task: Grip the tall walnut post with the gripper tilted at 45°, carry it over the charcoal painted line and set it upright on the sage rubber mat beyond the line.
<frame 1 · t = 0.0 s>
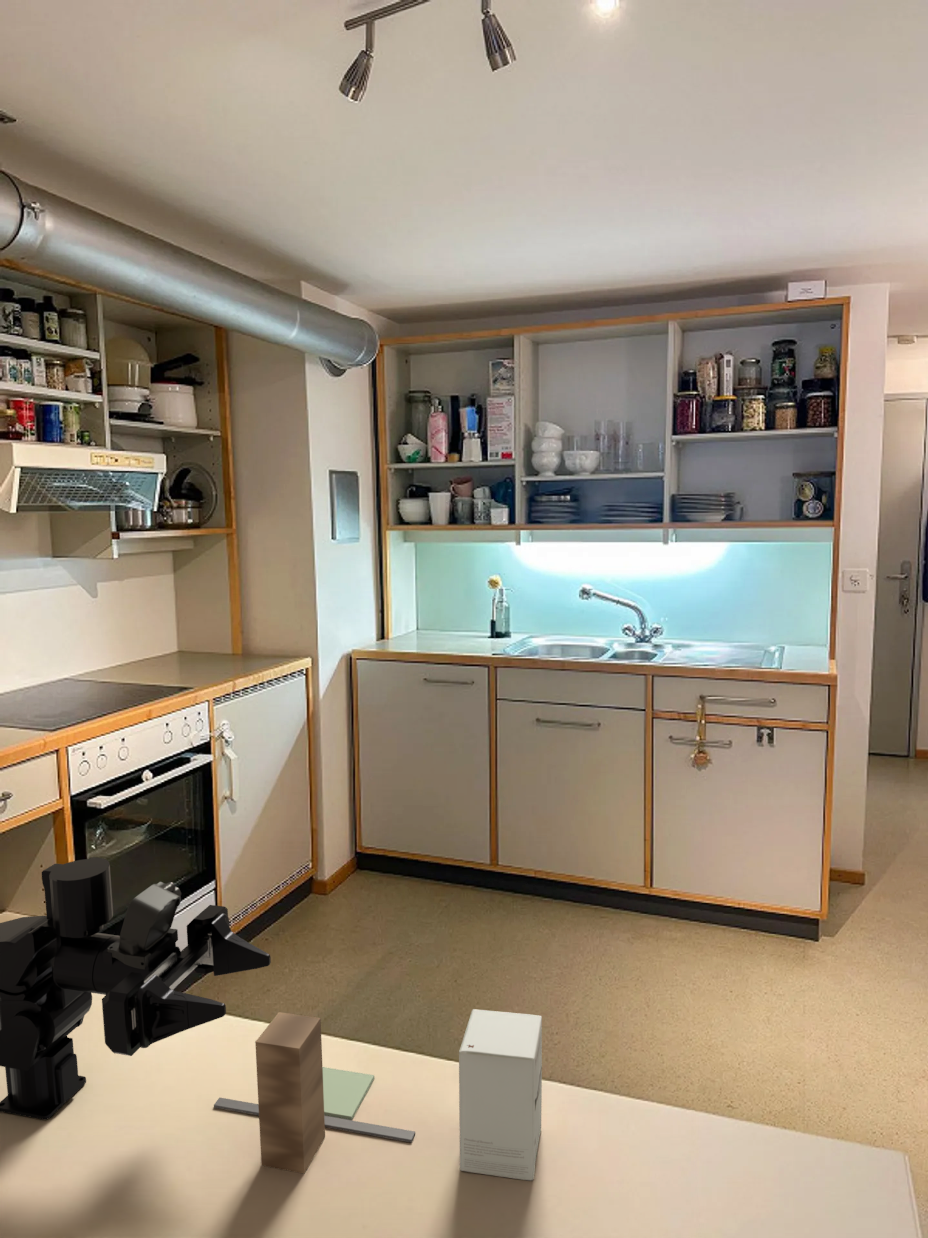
hand: (248, 984, 88), 17 cm above the table, tool horizontal, fingers open, 9 cm apart
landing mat: (320, 1091, 97), on the table
supplement box: (502, 1151, 88), on the table
walnut post: (293, 1151, 88), on the table
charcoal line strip: (312, 1120, 92), on the table
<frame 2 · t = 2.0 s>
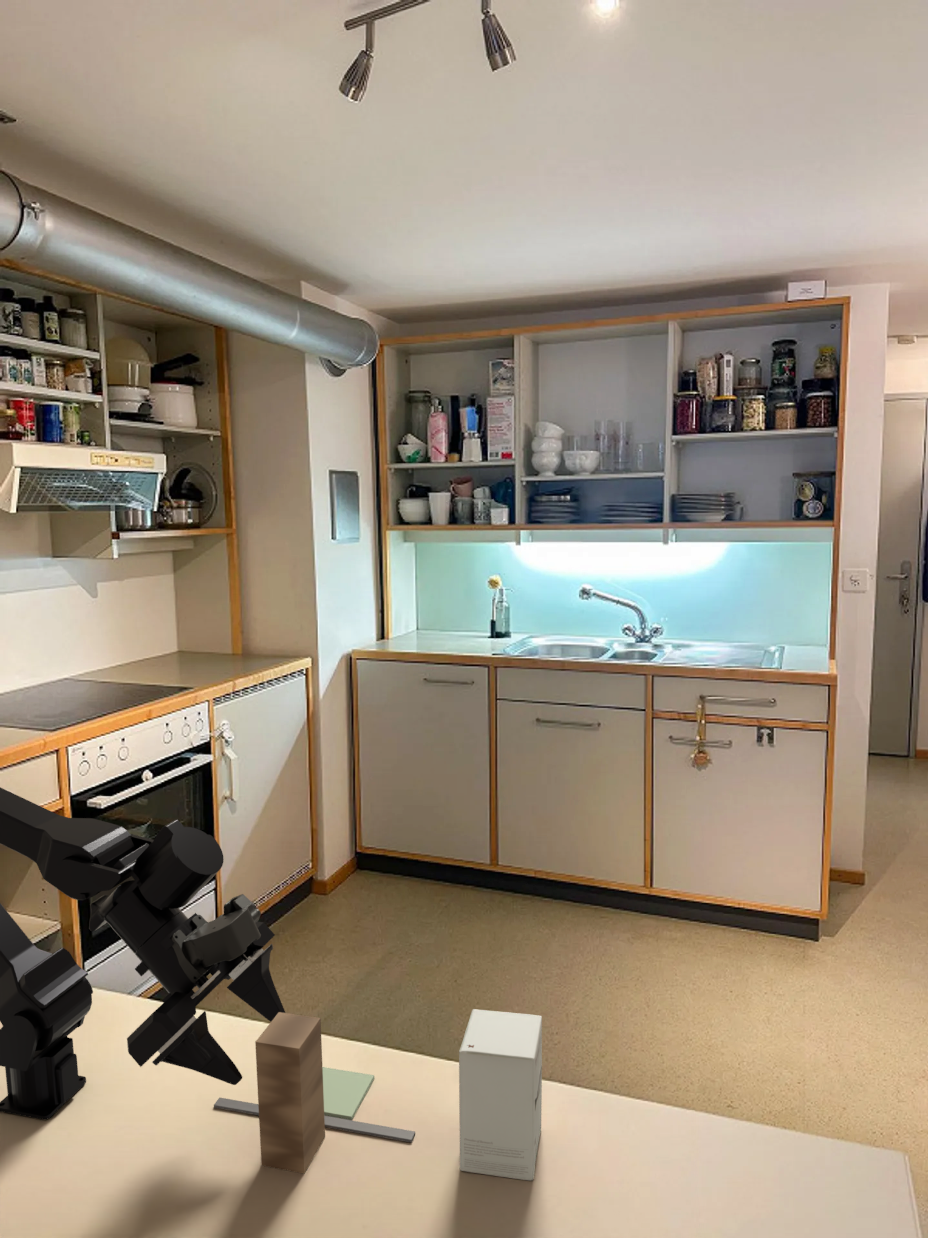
hand: (263, 1052, 87), 10 cm above the table, tool tilted 45°, fingers open, 9 cm apart
nothing on the table moved.
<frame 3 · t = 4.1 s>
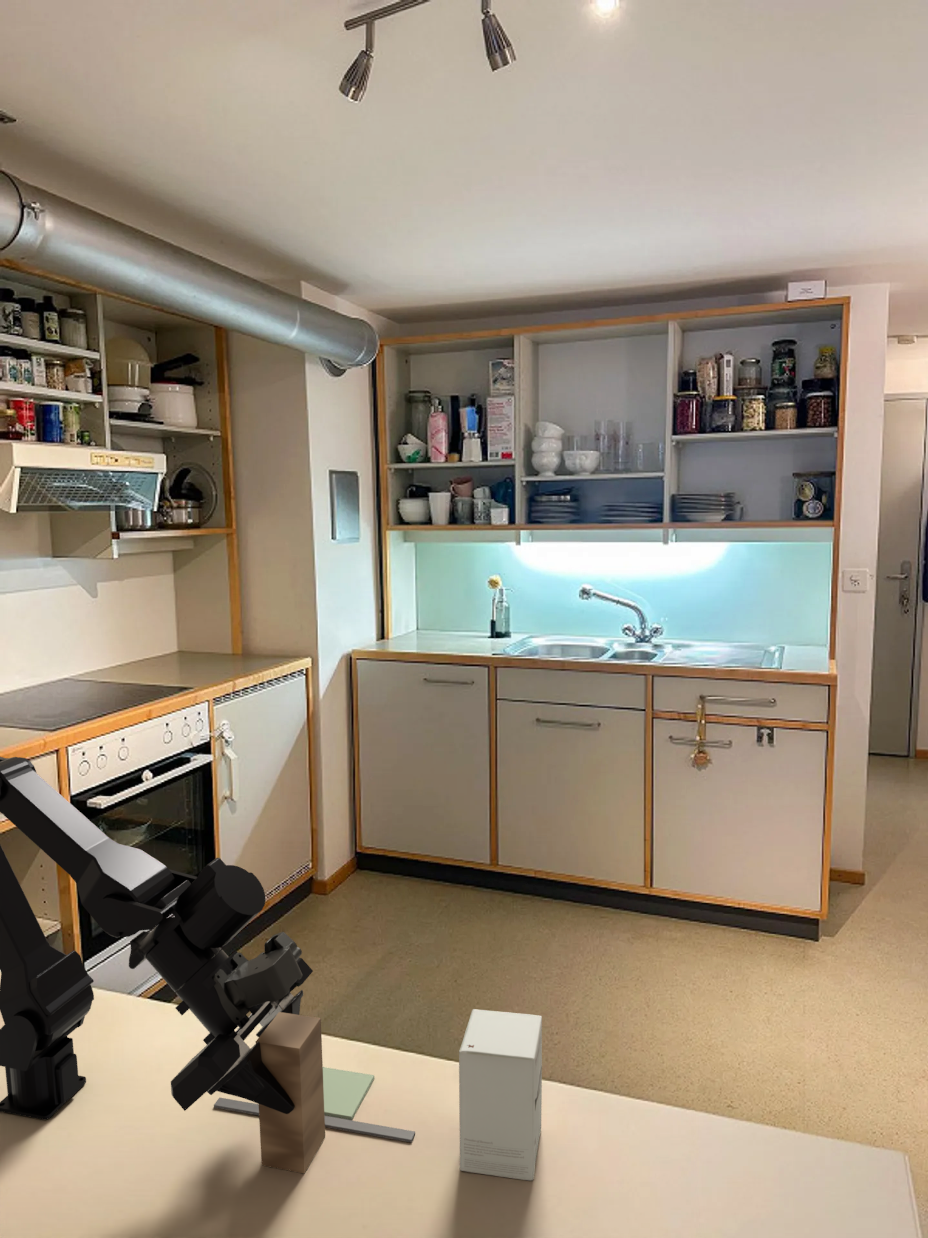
hand: (304, 1092, 87), 7 cm above the table, tool tilted 45°, fingers closed on walnut post, 5 cm apart
walnut post: (294, 1151, 88), on the table, touching gripper
everything else where it was.
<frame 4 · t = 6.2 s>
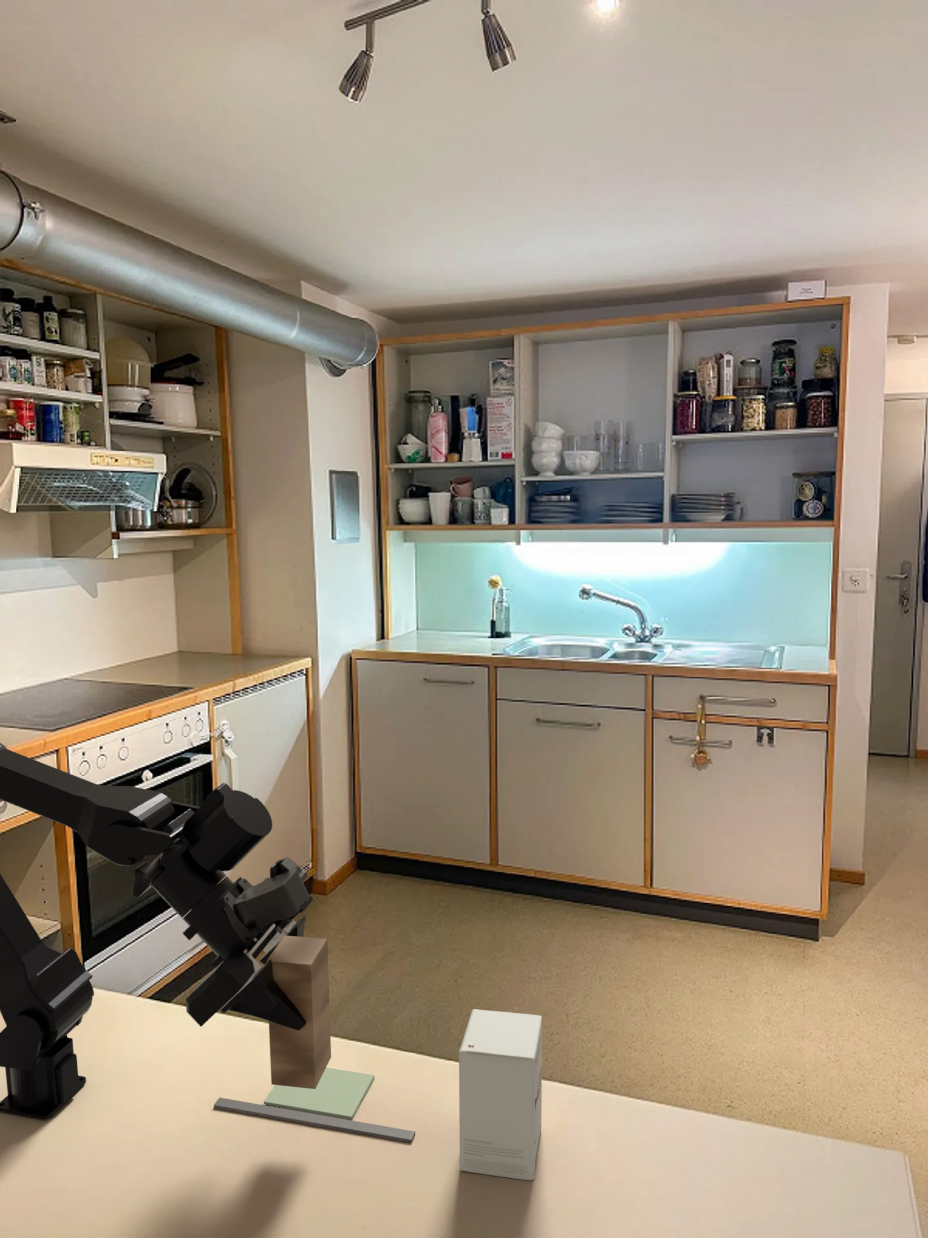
hand: (312, 1011, 88), 13 cm above the table, tool tilted 45°, fingers closed on walnut post, 5 cm apart
walnut post: (302, 1070, 89), point 7 cm above the table, touching gripper
everything else where it was.
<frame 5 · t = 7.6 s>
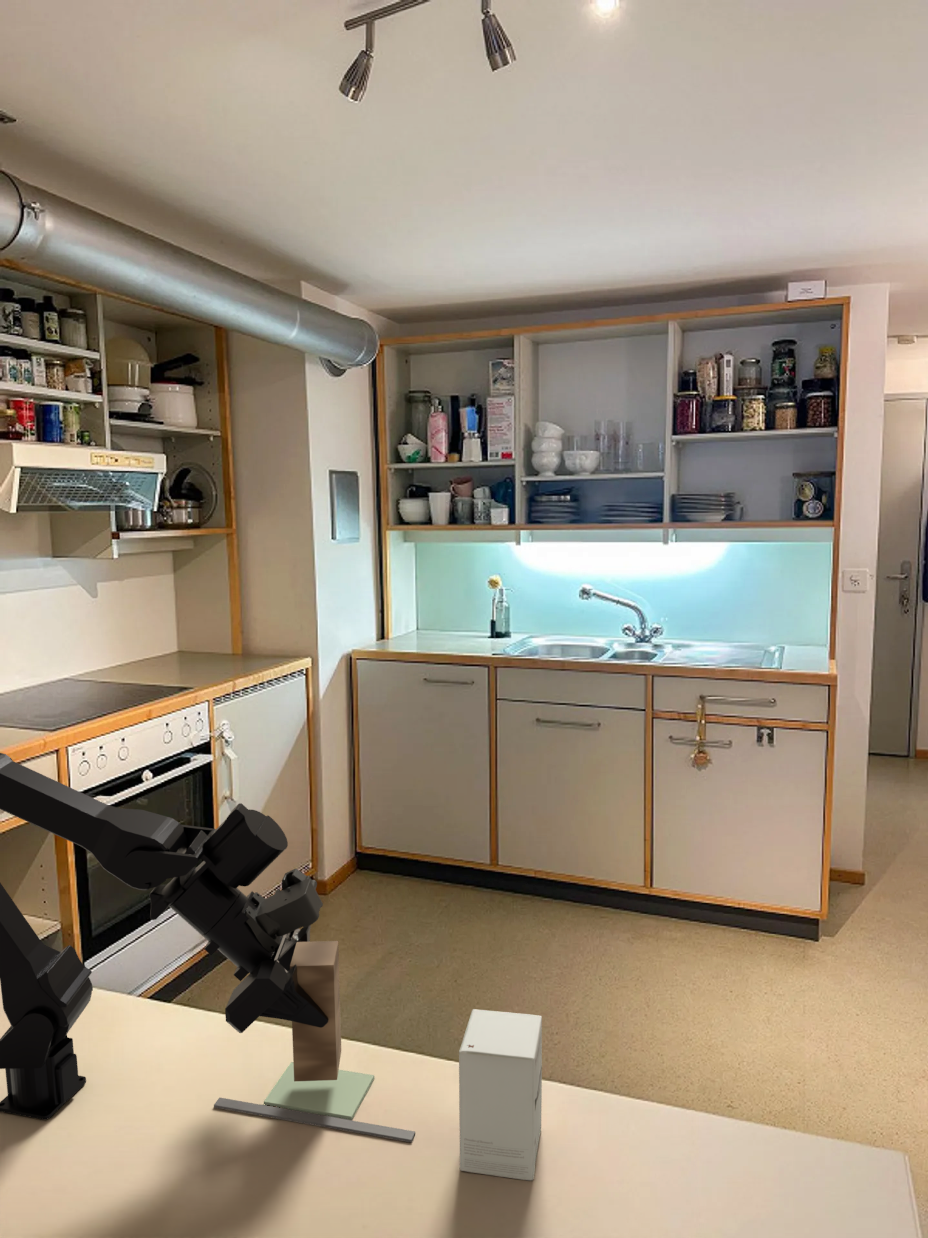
hand: (329, 1009, 95), 10 cm above the table, tool tilted 45°, fingers closed on walnut post, 5 cm apart
walnut post: (318, 1065, 96), point 3 cm above the table, touching gripper
everything else where it was.
when the fingers open (8 cm above the table, at t = 8.7 s): walnut post drops 1 cm, resting on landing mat.
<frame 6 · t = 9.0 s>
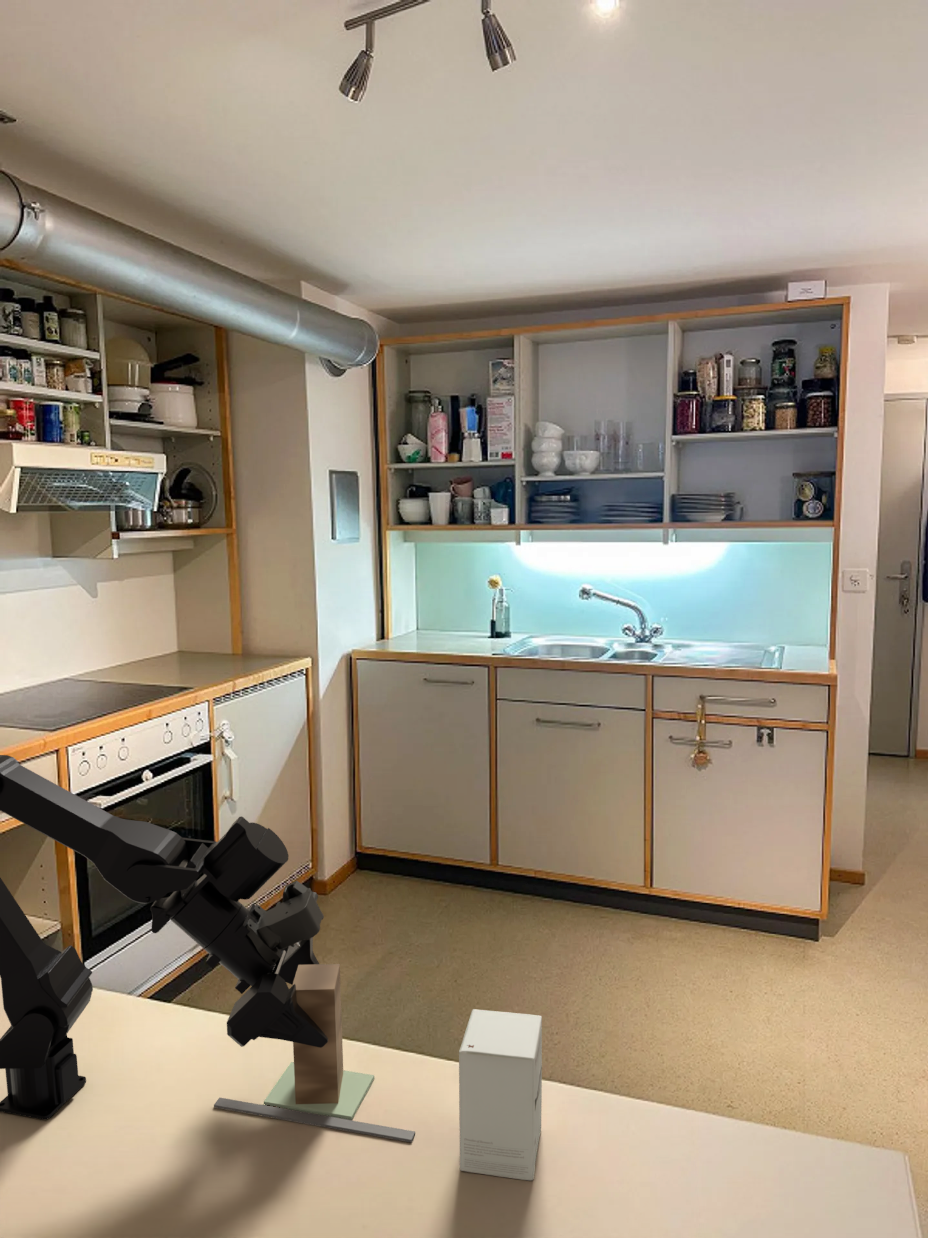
hand: (330, 1021, 95), 8 cm above the table, tool tilted 45°, fingers open, 8 cm apart
walnut post: (320, 1088, 96), resting on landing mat
everything else where it was.
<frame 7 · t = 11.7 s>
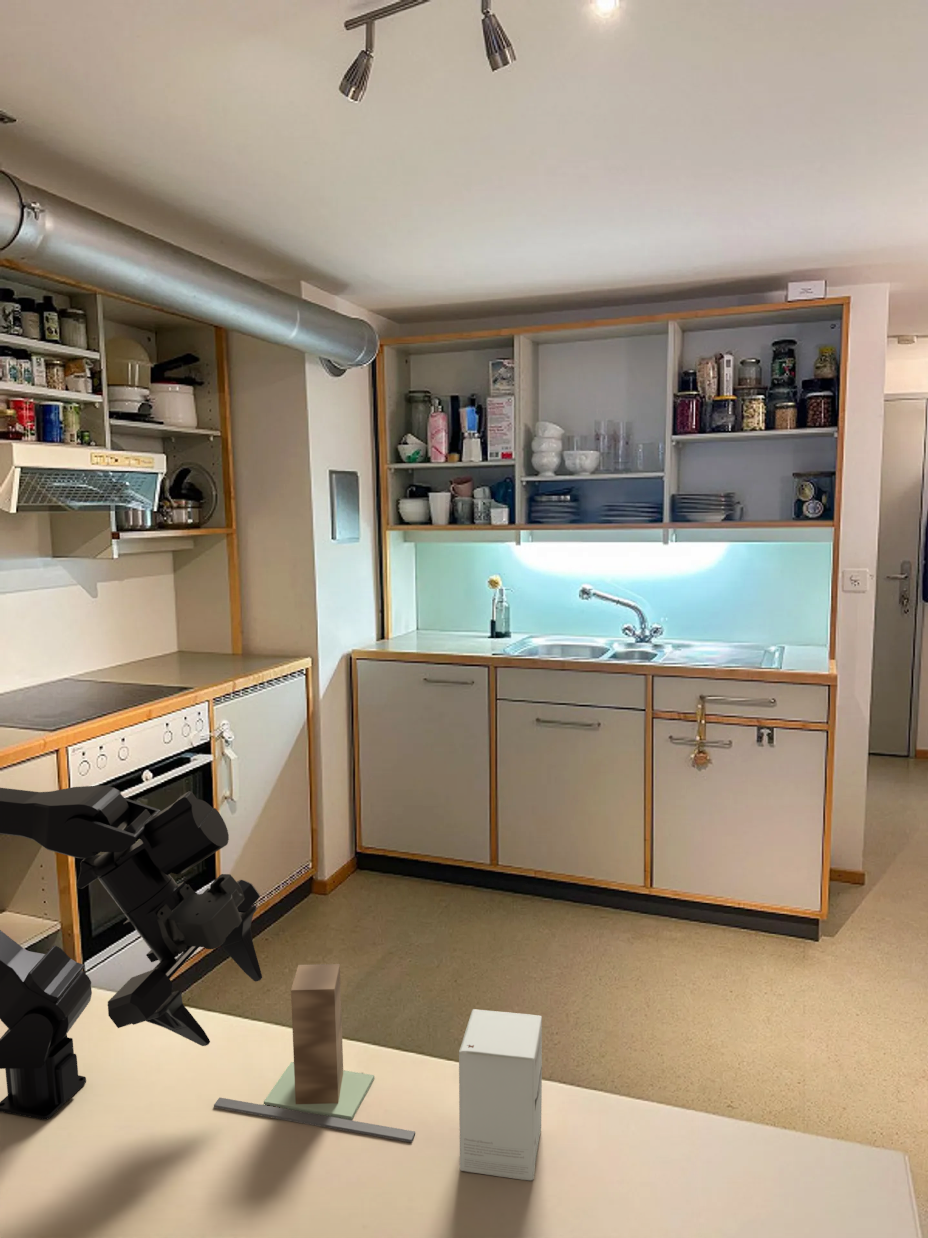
hand: (233, 1011, 95), 10 cm above the table, tool tilted 30°, fingers open, 9 cm apart
nothing on the table moved.
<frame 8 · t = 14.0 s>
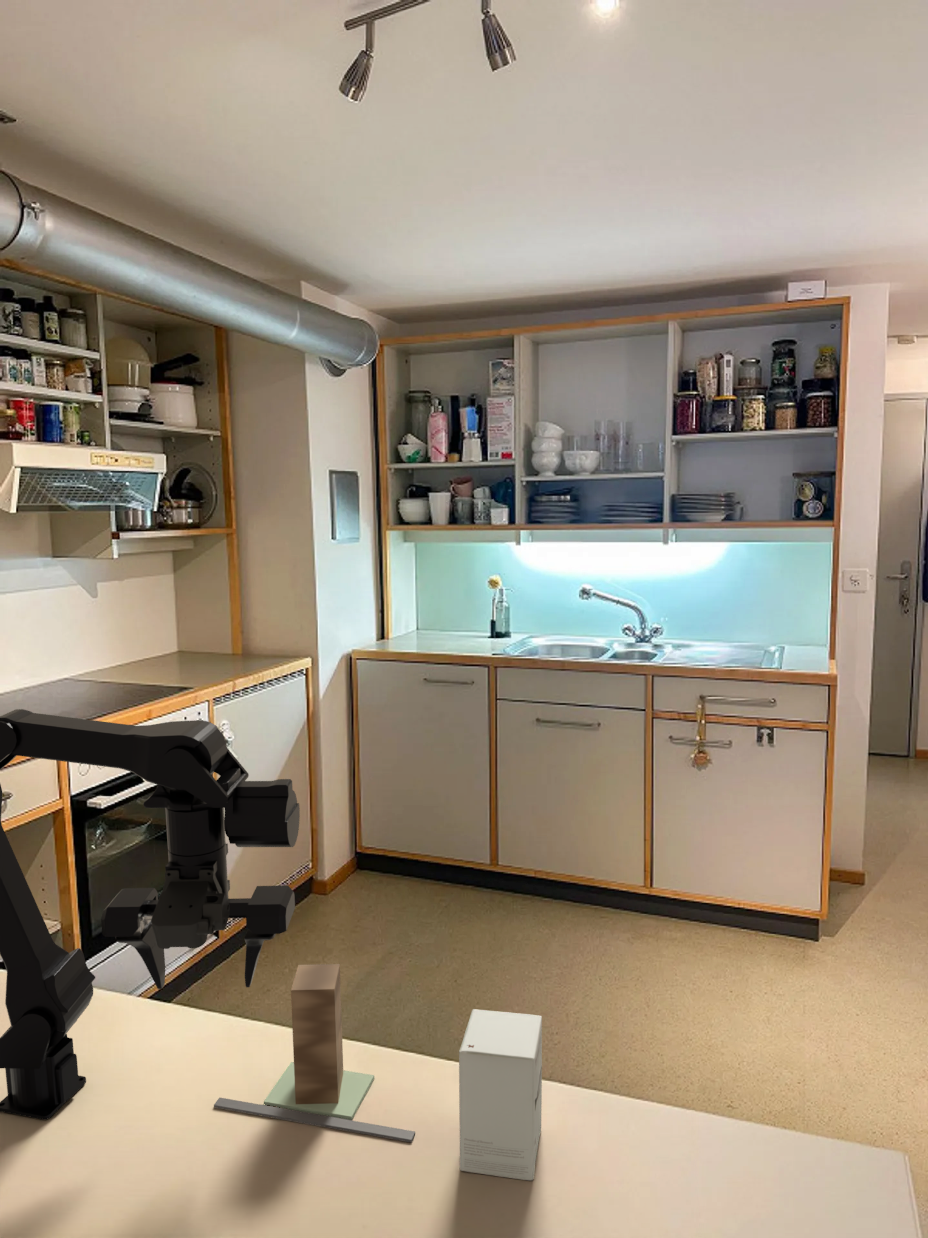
hand: (205, 986, 94), 13 cm above the table, tool pointing down, fingers open, 9 cm apart
nothing on the table moved.
at the end: walnut post inside the target area (1.3 cm from its centre), resting on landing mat; walnut post tilted 0°; the gripper is holding nothing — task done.
